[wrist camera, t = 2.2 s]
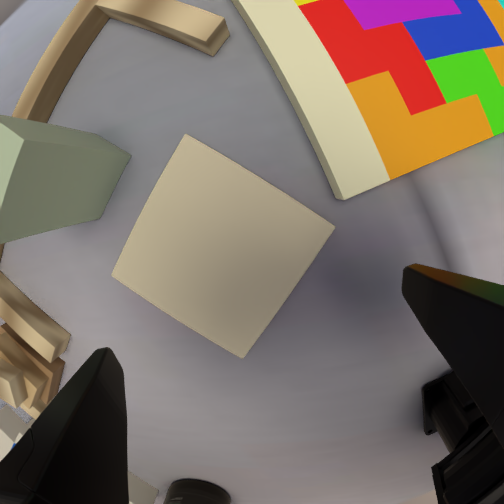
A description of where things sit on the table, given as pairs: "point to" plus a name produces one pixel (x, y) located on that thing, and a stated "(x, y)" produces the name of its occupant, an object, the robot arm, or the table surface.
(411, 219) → the table surface
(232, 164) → the mat
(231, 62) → the table surface
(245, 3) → the puzzle game
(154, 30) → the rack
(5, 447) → the pixel art tile
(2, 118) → the tall green pillar
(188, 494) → the supplement bottle
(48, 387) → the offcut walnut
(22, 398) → the offcut maple
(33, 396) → the offcut oak
